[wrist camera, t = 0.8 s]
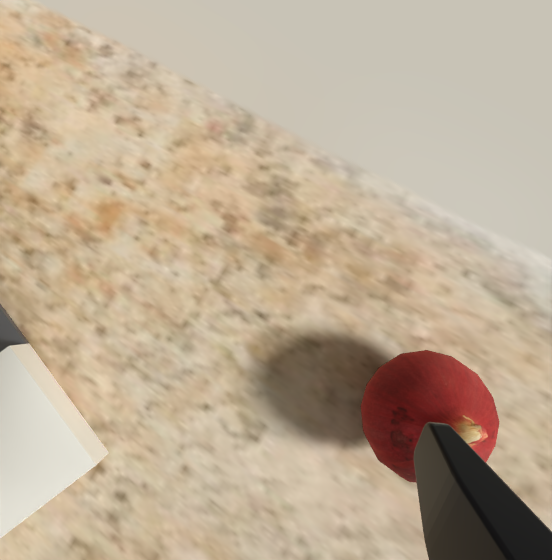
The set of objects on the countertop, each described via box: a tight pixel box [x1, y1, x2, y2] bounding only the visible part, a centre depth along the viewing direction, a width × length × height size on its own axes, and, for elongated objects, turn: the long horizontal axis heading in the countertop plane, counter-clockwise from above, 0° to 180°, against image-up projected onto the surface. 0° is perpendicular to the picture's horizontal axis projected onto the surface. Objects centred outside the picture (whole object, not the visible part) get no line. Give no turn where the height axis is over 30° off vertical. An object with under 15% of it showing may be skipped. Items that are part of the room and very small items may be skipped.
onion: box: [361, 350, 499, 483], centre depth 21 cm, size 6×6×8 cm
